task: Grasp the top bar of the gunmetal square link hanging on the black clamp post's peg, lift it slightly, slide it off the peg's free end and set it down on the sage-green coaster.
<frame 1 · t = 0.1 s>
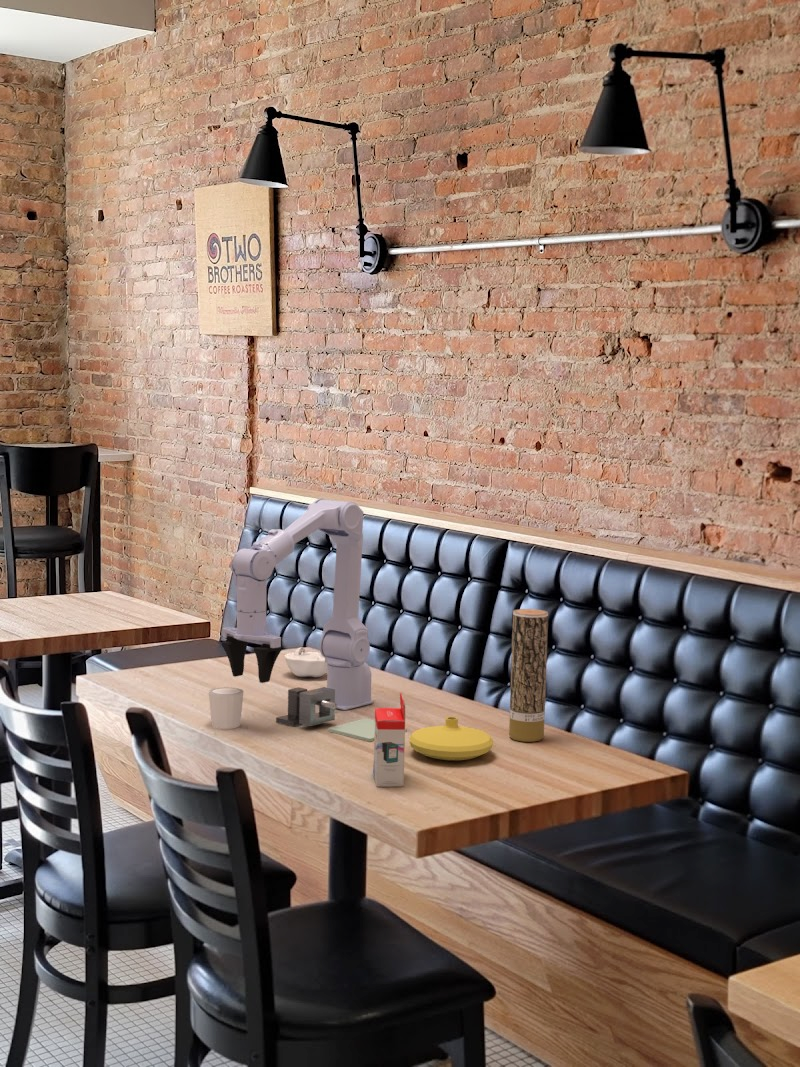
hand: (251, 678, 262), 10 cm above the table, fingers open, 7 cm apart
ink box: (388, 781, 232), on the table
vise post: (297, 721, 270), on the table
hook loop: (316, 726, 266), touching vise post
vase: (450, 756, 248), on the table
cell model: (308, 677, 311), on the table
coaster: (367, 731, 264), on the table
shot glass: (225, 726, 266), on the table
paper tube: (526, 739, 261), on the table
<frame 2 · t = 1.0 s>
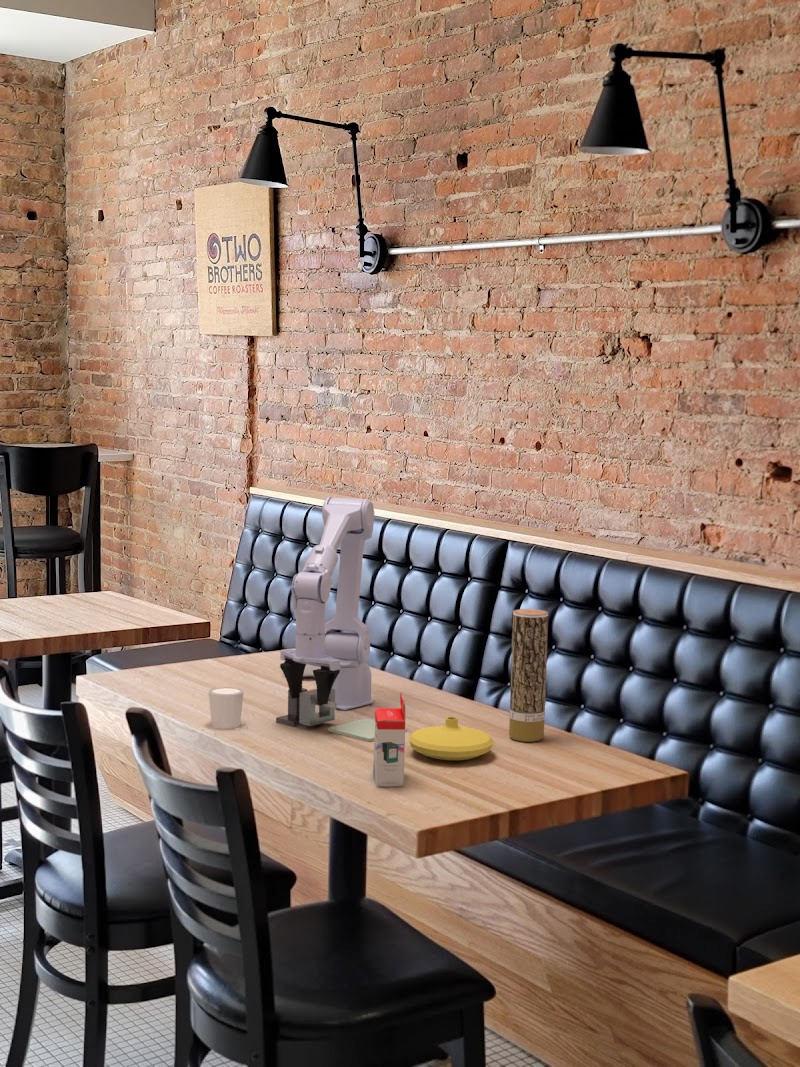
hand: (309, 700, 264), 6 cm above the table, fingers open, 7 cm apart
nothing on the table moved.
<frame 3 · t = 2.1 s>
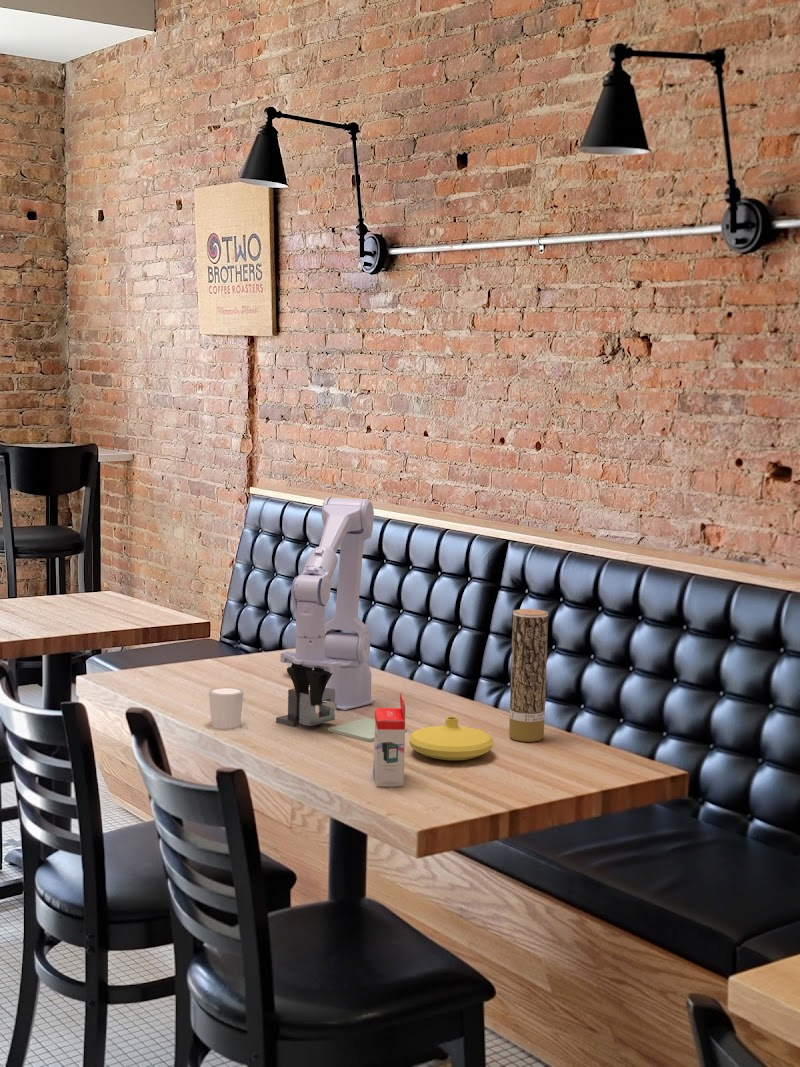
hand: (309, 703, 264), 5 cm above the table, fingers closed on hook loop, 3 cm apart
hook loop: (316, 726, 266), touching gripper, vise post
everything else where it was.
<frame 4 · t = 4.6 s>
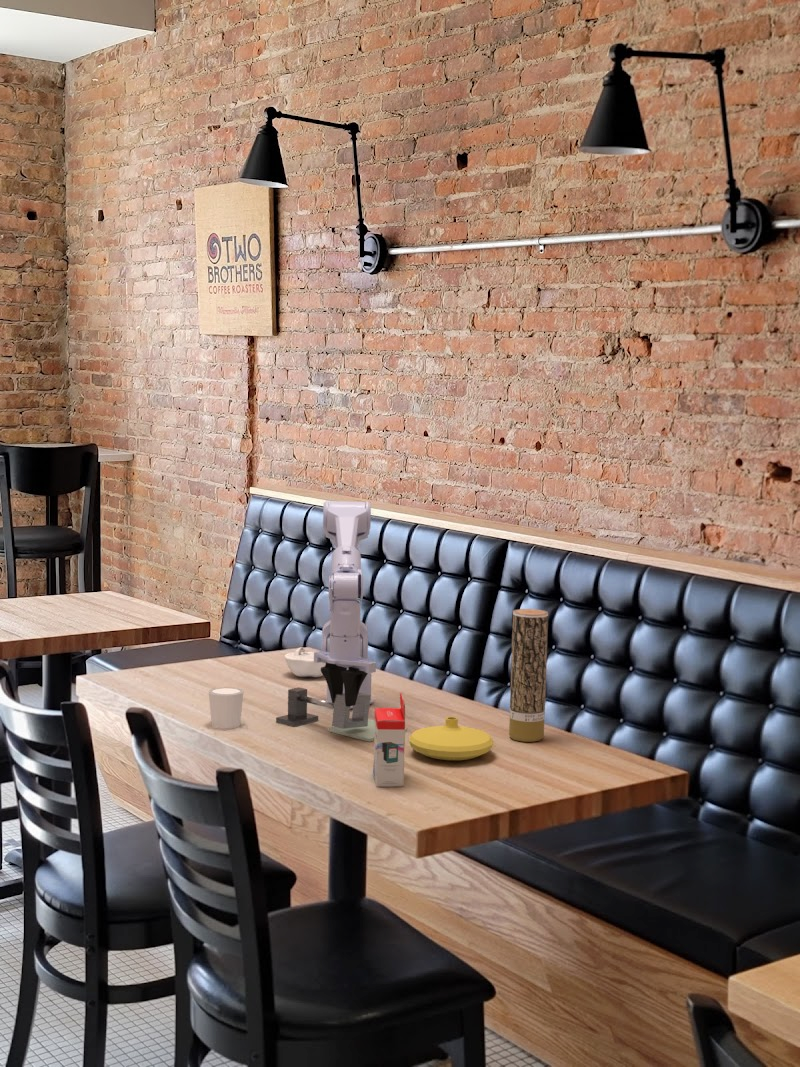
hand: (343, 704, 258), 7 cm above the table, fingers closed on hook loop, 3 cm apart
hook loop: (349, 731, 260), point 1 cm above the table, tilted 7°, touching gripper
everything else where it was.
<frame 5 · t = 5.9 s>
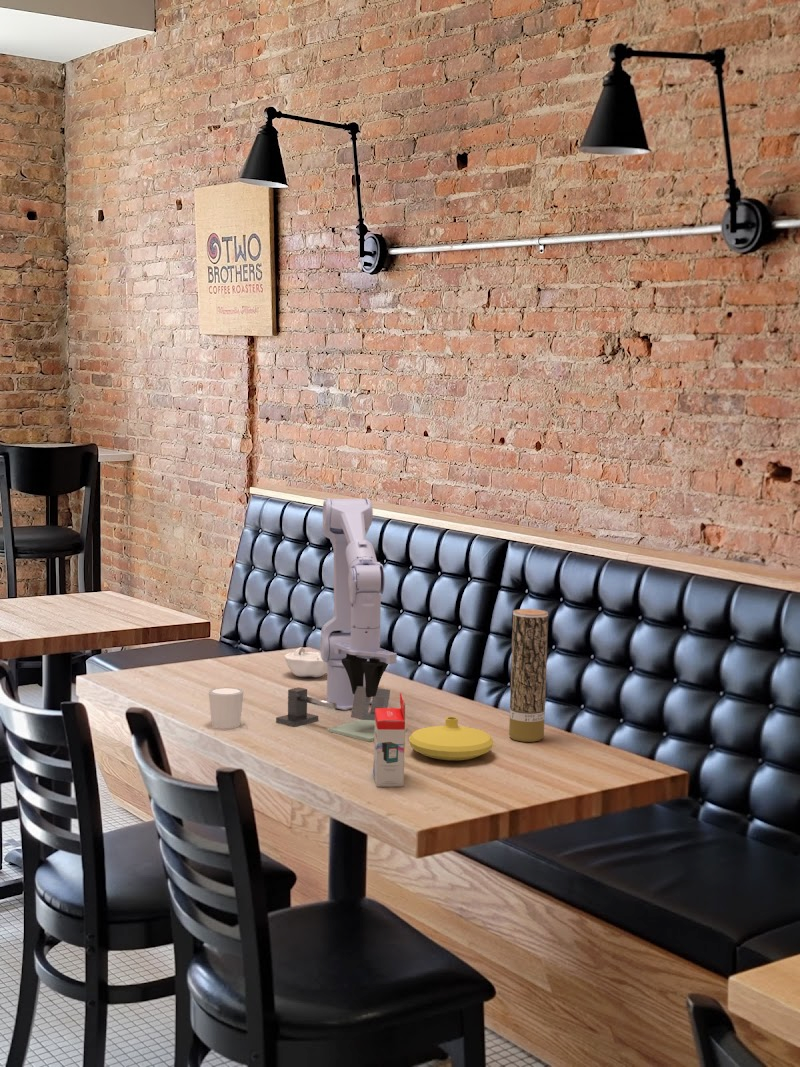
hand: (364, 694, 261), 8 cm above the table, fingers closed on hook loop, 3 cm apart
hook loop: (367, 724, 263), point 2 cm above the table, tilted 12°, touching gripper
everything else where it was.
when the fingers open (5 cm above the table, at t = 7.0 s): hook loop stays where it is, resting on coaster.
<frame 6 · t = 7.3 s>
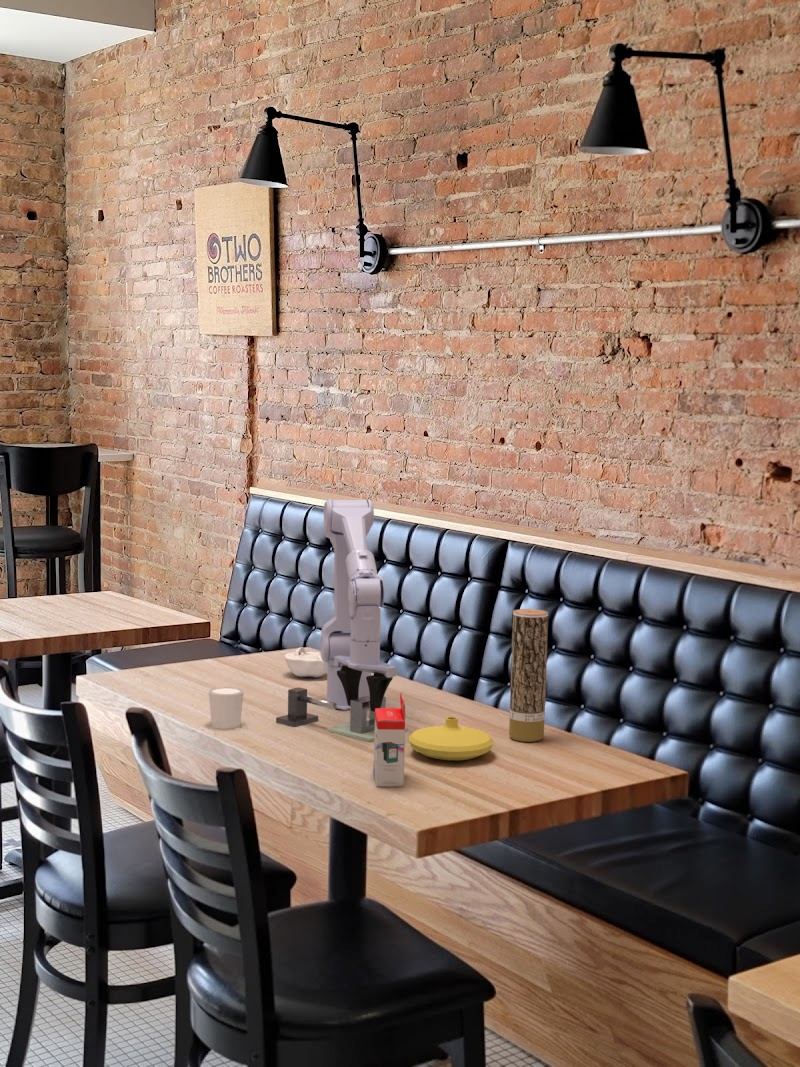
hand: (363, 707, 261), 5 cm above the table, fingers open, 5 cm apart
hook loop: (367, 734, 263), resting on coaster
everything else where it was.
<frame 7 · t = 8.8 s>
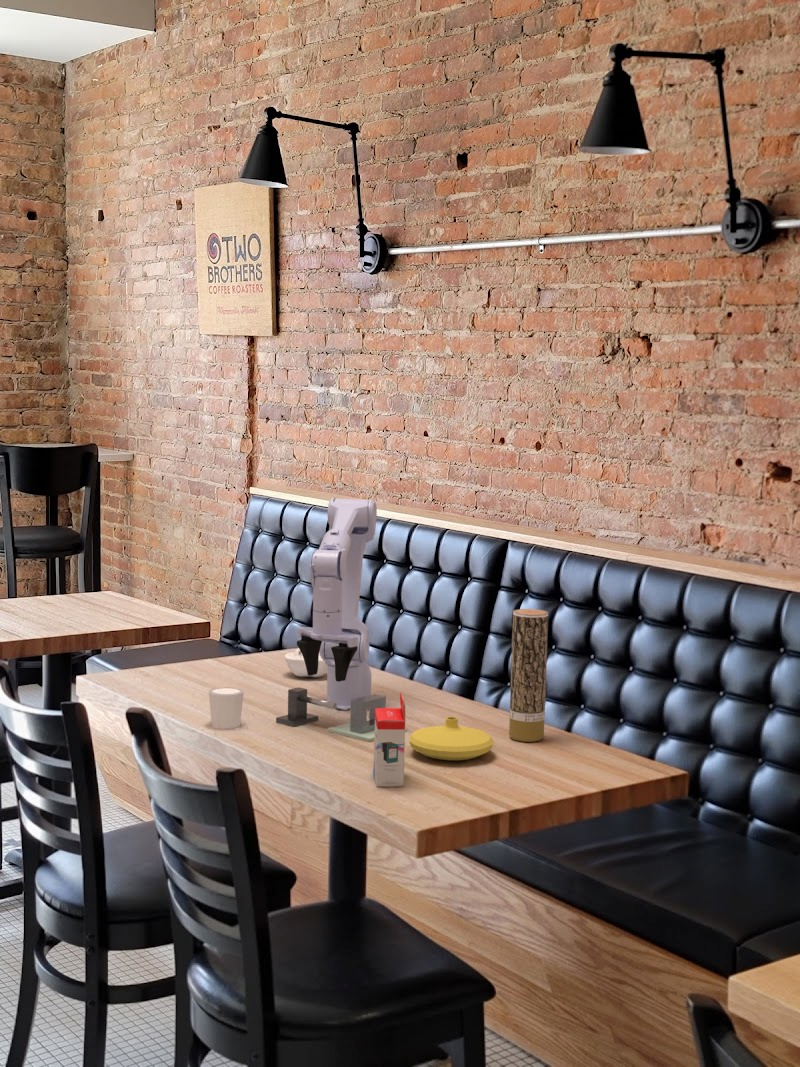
hand: (326, 677, 266), 10 cm above the table, fingers open, 7 cm apart
nothing on the table moved.
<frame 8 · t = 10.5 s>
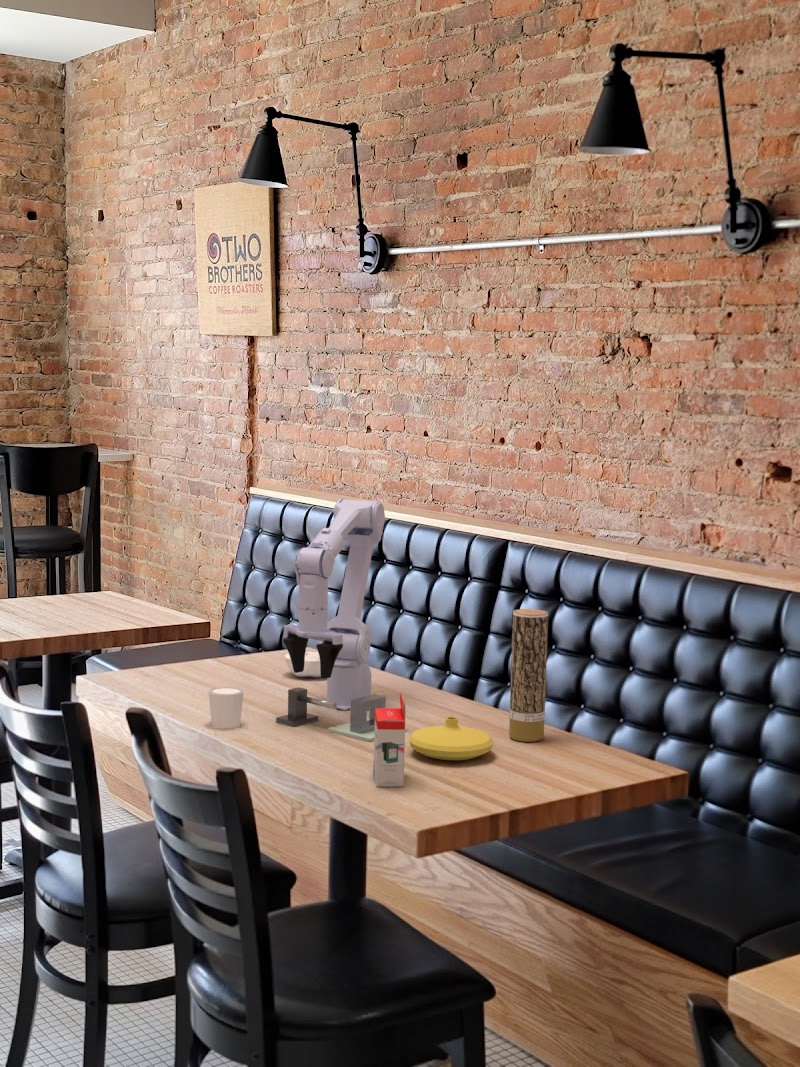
hand: (312, 675, 268), 10 cm above the table, fingers open, 7 cm apart
nothing on the table moved.
at the end: hook loop inside the target area on the coaster (0.8 cm from its centre), point 0.0 cm above the coaster's base; hook loop touching coaster; the gripper is holding nothing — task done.
